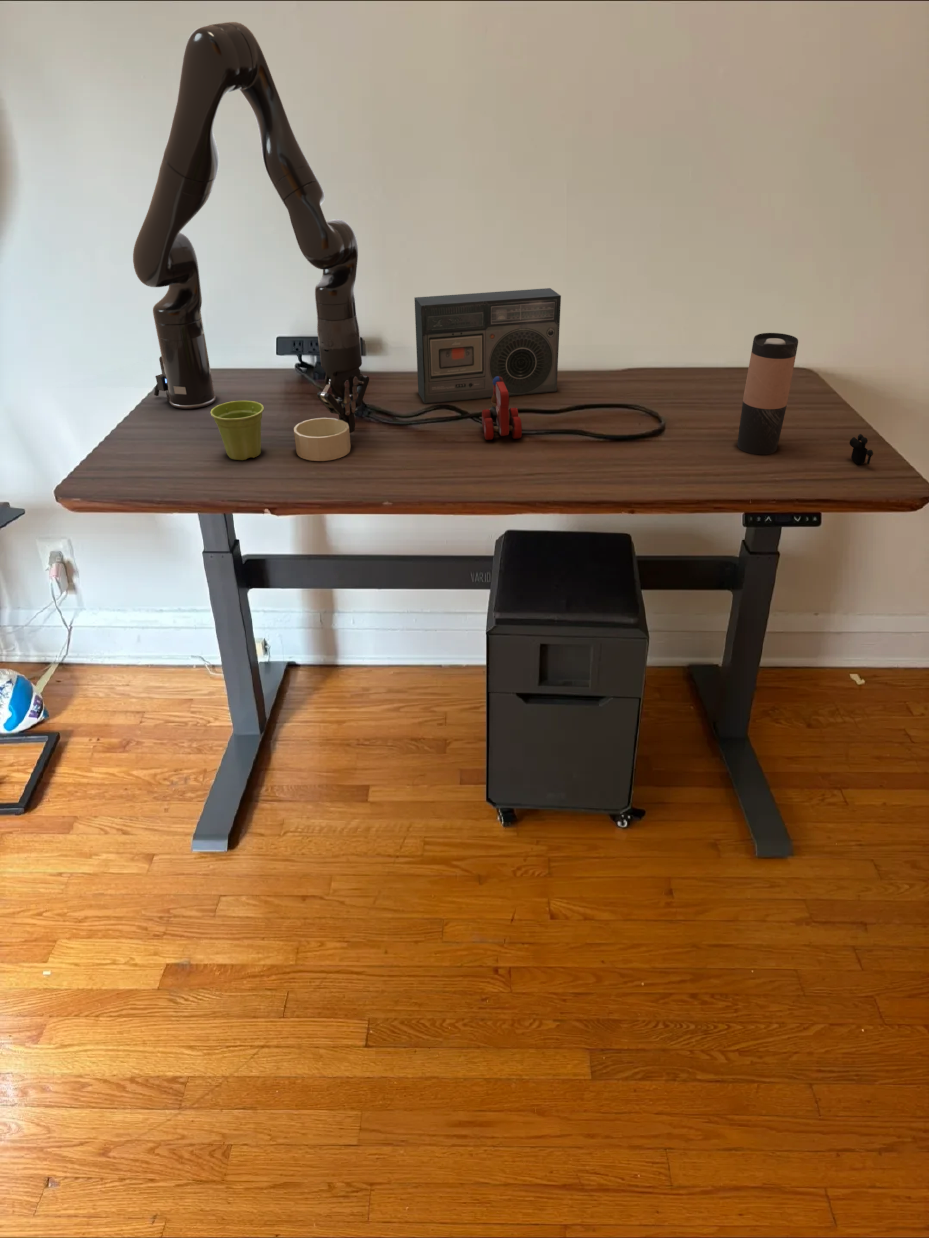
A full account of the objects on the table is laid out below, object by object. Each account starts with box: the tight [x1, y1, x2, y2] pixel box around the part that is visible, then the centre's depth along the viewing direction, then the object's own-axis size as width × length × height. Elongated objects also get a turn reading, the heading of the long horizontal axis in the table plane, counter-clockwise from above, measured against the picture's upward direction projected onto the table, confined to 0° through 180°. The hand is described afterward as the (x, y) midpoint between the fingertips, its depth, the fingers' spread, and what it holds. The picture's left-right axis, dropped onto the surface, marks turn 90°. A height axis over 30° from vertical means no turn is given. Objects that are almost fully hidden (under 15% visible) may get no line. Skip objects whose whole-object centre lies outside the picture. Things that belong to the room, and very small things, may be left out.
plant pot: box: [209, 400, 265, 461], centre depth 164 cm, size 9×9×9 cm
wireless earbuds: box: [849, 433, 874, 466], centre depth 158 cm, size 7×2×5 cm, turn 8°
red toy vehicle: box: [481, 376, 523, 441], centre depth 171 cm, size 7×12×10 cm, turn 4°
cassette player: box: [414, 287, 562, 405], centre depth 188 cm, size 29×7×20 cm, turn 104°
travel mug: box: [736, 332, 799, 455], centre depth 161 cm, size 8×8×20 cm
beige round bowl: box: [293, 417, 352, 462], centre depth 166 cm, size 10×10×4 cm
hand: (348, 431), depth 172 cm, fingers closed
